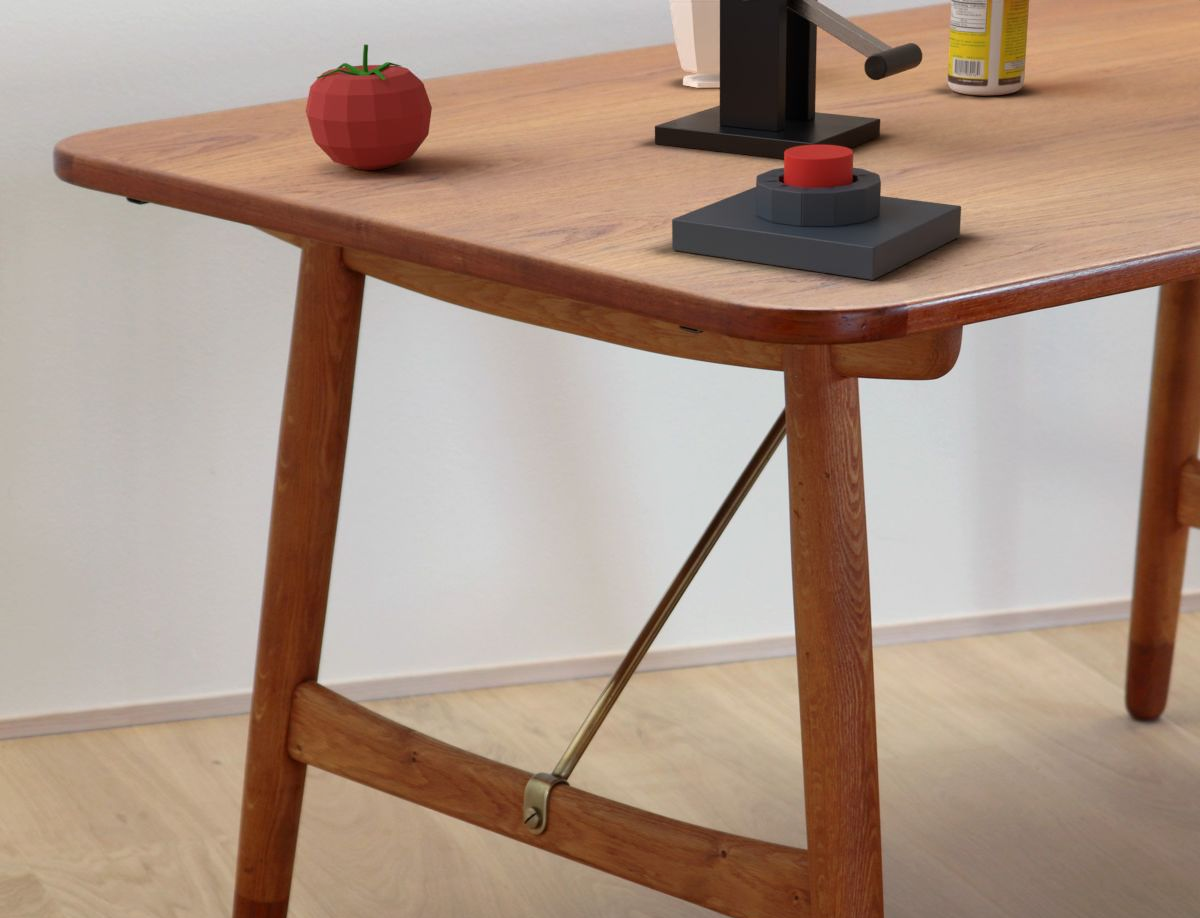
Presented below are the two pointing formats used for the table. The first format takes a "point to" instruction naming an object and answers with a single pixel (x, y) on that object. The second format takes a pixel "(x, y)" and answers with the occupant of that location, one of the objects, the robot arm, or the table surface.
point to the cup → (698, 40)
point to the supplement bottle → (987, 46)
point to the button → (818, 166)
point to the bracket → (765, 89)
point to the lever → (860, 40)
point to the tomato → (368, 114)
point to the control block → (818, 227)
